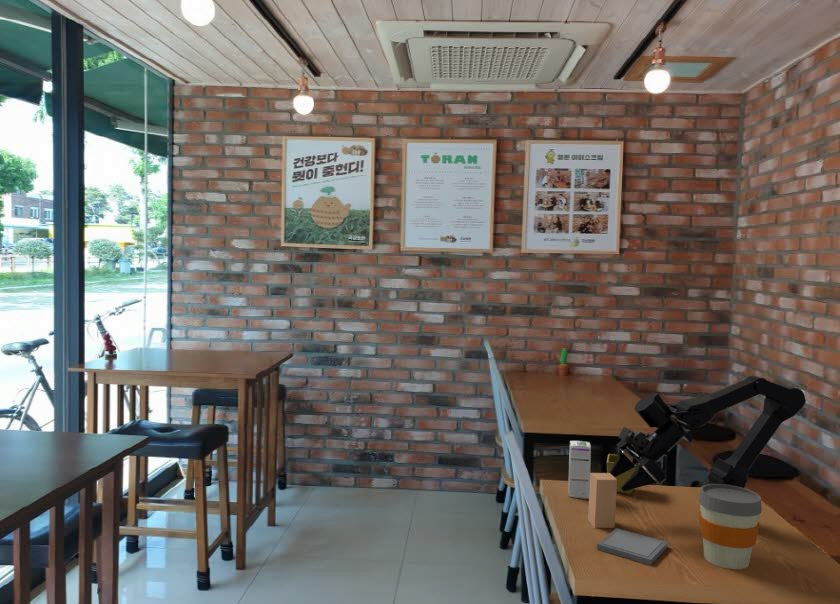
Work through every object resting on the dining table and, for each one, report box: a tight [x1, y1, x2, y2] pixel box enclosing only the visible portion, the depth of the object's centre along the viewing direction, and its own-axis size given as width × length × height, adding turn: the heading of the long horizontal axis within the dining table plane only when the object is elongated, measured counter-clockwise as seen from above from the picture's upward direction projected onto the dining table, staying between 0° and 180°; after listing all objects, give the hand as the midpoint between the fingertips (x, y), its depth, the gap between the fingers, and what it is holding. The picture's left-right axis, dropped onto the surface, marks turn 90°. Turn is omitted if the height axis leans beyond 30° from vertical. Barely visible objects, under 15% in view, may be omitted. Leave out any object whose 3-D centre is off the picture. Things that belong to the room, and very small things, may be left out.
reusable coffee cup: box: [698, 483, 763, 570], centre depth 145 cm, size 13×13×15 cm
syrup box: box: [567, 440, 592, 500], centre depth 183 cm, size 6×6×14 cm
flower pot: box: [606, 453, 641, 495], centre depth 188 cm, size 9×9×9 cm
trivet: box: [596, 527, 669, 566], centre depth 149 cm, size 12×12×1 cm
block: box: [587, 472, 618, 529], centre depth 163 cm, size 5×5×12 cm
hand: (615, 483), depth 163 cm, fingers open, 9 cm apart
